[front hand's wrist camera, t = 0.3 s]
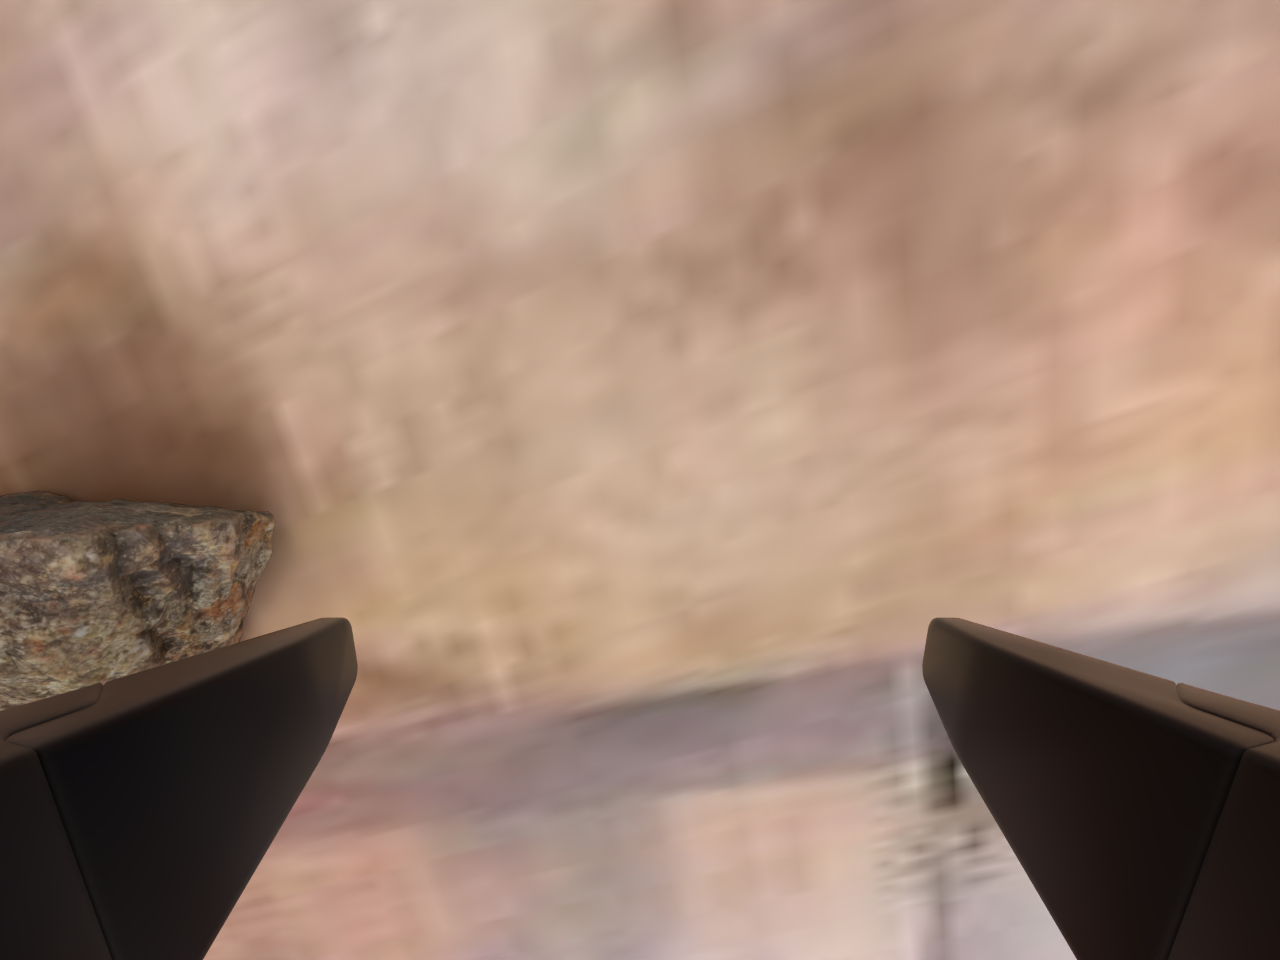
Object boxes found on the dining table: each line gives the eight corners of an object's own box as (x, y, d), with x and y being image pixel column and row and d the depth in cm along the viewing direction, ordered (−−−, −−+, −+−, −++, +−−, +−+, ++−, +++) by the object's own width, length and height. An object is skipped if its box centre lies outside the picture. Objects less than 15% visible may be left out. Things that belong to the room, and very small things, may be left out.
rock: (-119, 428, 26) (-30, 676, 29) (-497, 533, 18) (-311, 859, 21) (293, 441, 25) (334, 697, 28) (92, 559, 16) (185, 897, 20)
